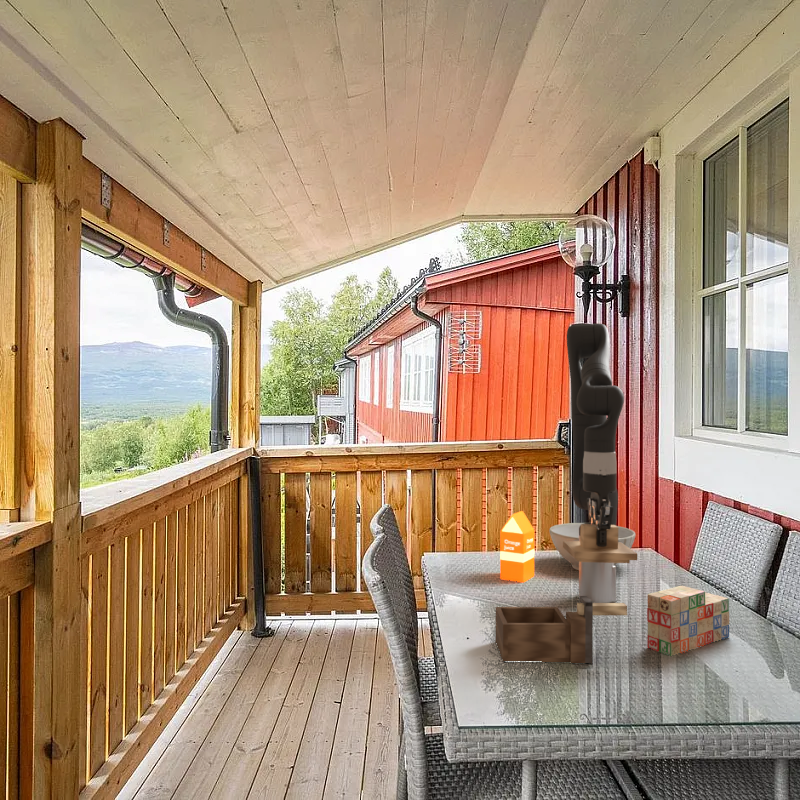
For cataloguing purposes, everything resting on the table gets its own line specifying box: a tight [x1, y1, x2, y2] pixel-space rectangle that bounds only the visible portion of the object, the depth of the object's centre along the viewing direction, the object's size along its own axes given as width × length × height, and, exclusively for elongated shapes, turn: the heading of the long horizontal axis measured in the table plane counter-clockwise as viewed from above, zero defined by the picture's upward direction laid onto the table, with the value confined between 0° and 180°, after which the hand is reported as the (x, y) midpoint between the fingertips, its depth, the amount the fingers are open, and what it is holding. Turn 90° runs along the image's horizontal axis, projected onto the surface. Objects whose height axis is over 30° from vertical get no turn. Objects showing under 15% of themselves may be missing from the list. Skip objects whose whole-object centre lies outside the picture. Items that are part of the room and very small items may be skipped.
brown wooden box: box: [495, 596, 594, 665], centre depth 150 cm, size 18×13×13 cm
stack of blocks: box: [646, 585, 730, 657], centre depth 156 cm, size 21×6×12 cm, turn 122°
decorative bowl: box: [548, 522, 636, 571], centre depth 224 cm, size 27×27×12 cm
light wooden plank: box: [576, 602, 628, 616], centre depth 146 cm, size 10×2×2 cm, turn 90°
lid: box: [563, 524, 638, 564], centre depth 162 cm, size 14×12×8 cm
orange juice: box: [499, 510, 535, 584], centre depth 212 cm, size 8×9×20 cm
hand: (599, 544), depth 162 cm, fingers closed on lid, 3 cm apart
